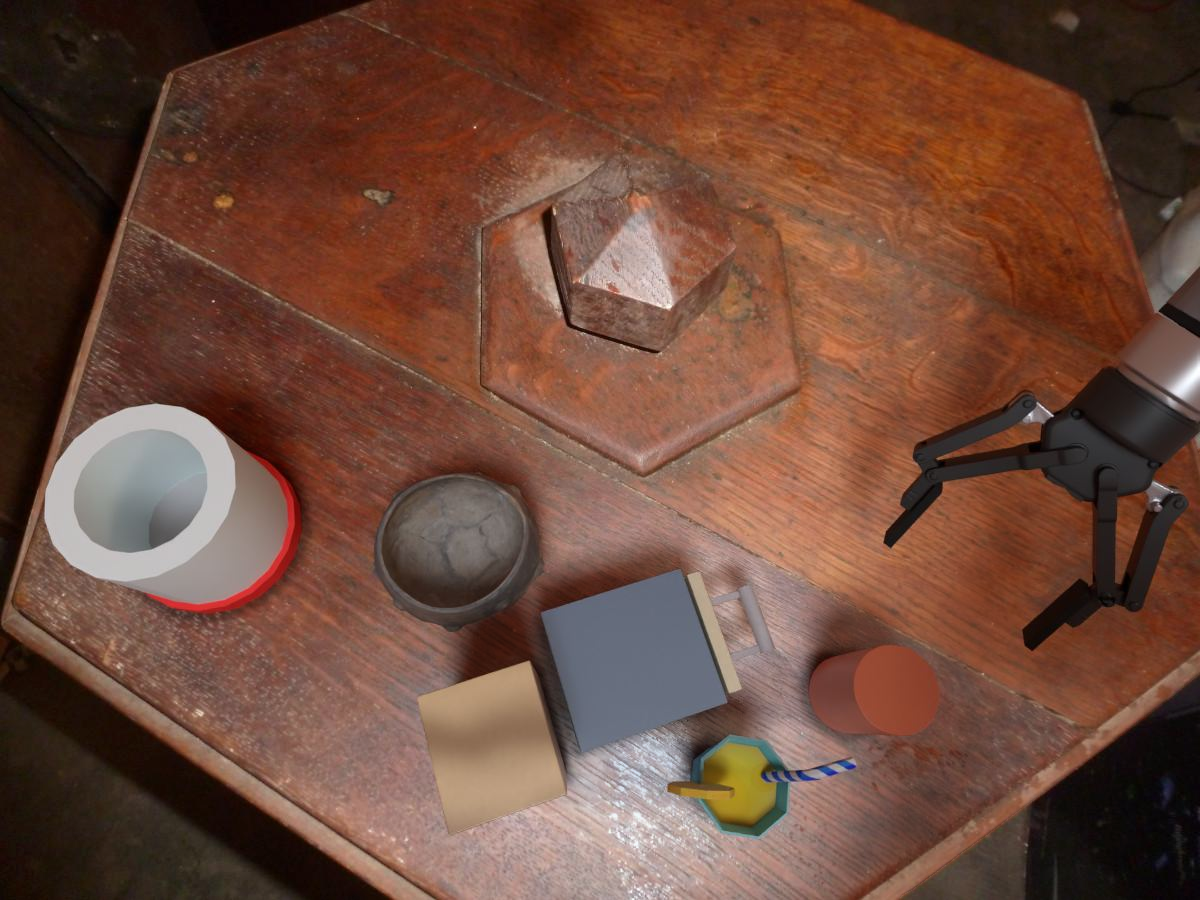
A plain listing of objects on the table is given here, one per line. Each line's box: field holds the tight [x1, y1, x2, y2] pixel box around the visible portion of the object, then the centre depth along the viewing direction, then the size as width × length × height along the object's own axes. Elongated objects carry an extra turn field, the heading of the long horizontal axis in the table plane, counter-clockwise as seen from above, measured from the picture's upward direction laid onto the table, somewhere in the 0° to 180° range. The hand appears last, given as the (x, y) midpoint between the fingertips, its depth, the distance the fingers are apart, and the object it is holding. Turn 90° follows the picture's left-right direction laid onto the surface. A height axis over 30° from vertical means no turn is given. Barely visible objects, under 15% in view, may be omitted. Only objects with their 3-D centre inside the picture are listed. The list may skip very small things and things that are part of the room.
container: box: [43, 403, 303, 615], centre depth 69 cm, size 16×16×15 cm
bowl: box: [371, 471, 546, 633], centre depth 71 cm, size 14×15×10 cm
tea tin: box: [808, 644, 941, 737], centre depth 67 cm, size 7×7×12 cm
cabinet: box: [540, 567, 729, 754], centre depth 69 cm, size 13×12×10 cm
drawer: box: [684, 570, 776, 695], centre depth 69 cm, size 16×10×8 cm, turn 108°
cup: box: [666, 734, 857, 840], centre depth 63 cm, size 14×8×15 cm, turn 104°
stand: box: [416, 660, 568, 836], centre depth 61 cm, size 9×8×20 cm
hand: (955, 589), depth 66 cm, fingers open, 13 cm apart
